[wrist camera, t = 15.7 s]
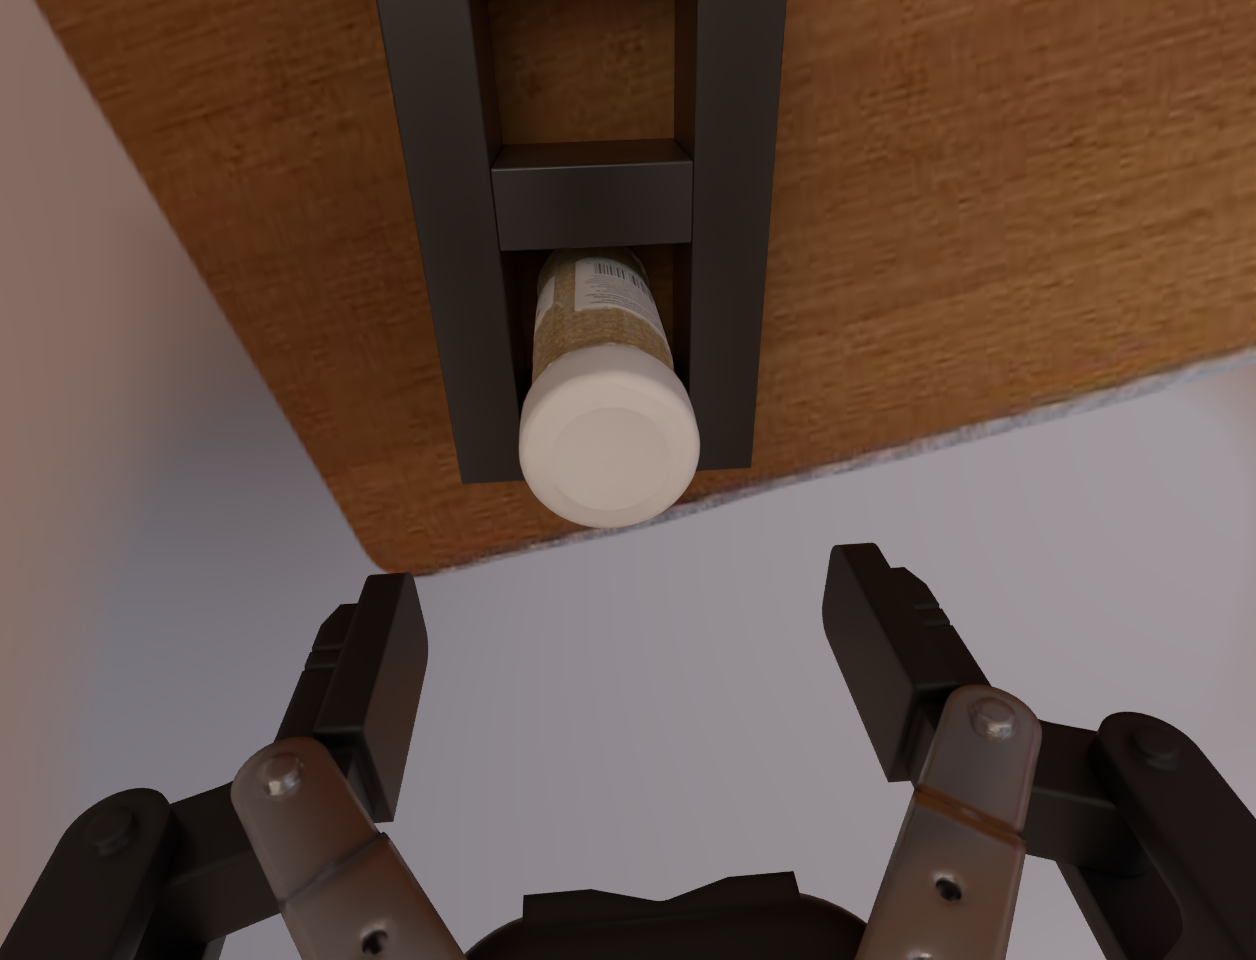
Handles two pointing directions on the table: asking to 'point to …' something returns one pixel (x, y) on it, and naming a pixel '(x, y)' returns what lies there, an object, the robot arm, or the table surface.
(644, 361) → the spice jar
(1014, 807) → the robot arm
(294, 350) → the table surface
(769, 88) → the holder
